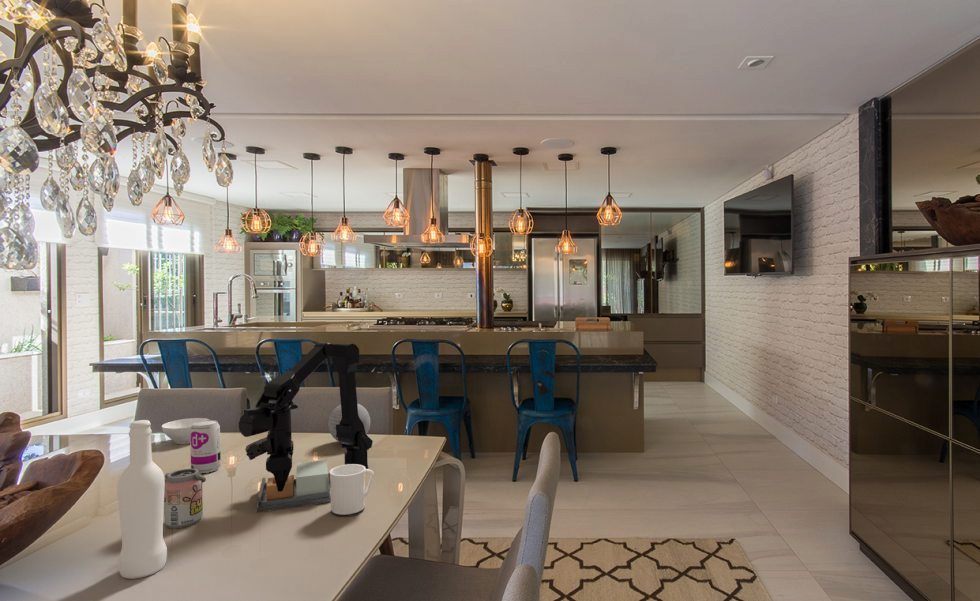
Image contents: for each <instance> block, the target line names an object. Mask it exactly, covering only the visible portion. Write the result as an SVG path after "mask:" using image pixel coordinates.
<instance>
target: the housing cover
mask: <svg viewBox="0 0 980 601" xmlns="http://www.w3.org/2000/svg"><path fill="white" fill-rule="evenodd" d="M328 478H329V468H328V460H327V459H326V460H325V459H323V460H319V461H316V460H315V461H308V462H299V463H298V462H297V463H296V476H295V479H296V490H297V496H303V495H310V494H318V493H325V492H328Z"/></svg>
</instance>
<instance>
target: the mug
mask: <svg viewBox="0 0 980 601" xmlns="http://www.w3.org/2000/svg"><path fill="white" fill-rule="evenodd" d="M367 472H368V473H370V477H369V480H368V484H367V486H366V473H367ZM328 474H329V483H330V495H331V502H330V503H331V512H332V514H333V515H334V516H336V517H341V518H342V517H344V518H345V517H353V516H356V515H359V514H361V513H362V512H364V510H365V507H366V506H365V505H366V504H365V503H366V499H365V498H366V497H367V496H368V495H369V493H370V489H371V487H372V484H373V480H374V477H375V473H374V471H373V470H372V469H369V468H368V469H366V468H365V466H363V465H358V464H347V465H345V464H341V465H337V466H335V467H332V468H331V469H329V471H328Z"/></svg>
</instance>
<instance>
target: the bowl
mask: <svg viewBox="0 0 980 601" xmlns="http://www.w3.org/2000/svg"><path fill="white" fill-rule="evenodd" d="M207 420H210V418H209V419H208V418H203V417H193V418H191V417H190V418H183V419H182V418H181V419H176V420H172V421H169V422H165V423H162V425H161V430H162V431H163V434H165V435H166V437H167V438H169V439H171V441H173V443H175V444H176V445H188V444H190V429H191V427H192V424H193V423H196V422H200V421H207Z"/></svg>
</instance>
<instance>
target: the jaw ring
mask: <svg viewBox="0 0 980 601" xmlns="http://www.w3.org/2000/svg"><path fill="white" fill-rule="evenodd" d="M294 479H295V475H294V474H291V475H290V474H289V476H288V478H287V481H286V484H285V486H284V489H283V491H281V492H278V489H277V485H276V482H275V478H274V476H273V477H268V478H267V480H266V482H267V486H266V490H267V499H275V498H282V497H290V496H294Z"/></svg>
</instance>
